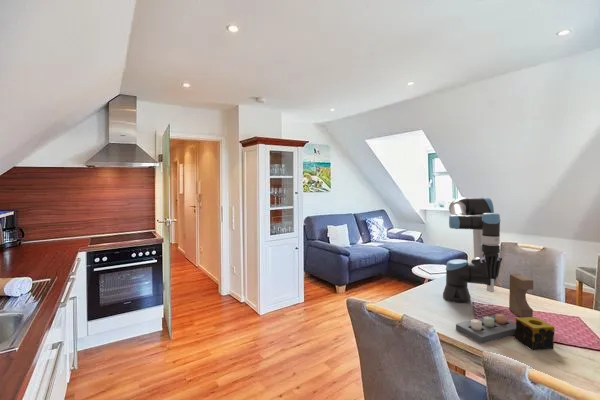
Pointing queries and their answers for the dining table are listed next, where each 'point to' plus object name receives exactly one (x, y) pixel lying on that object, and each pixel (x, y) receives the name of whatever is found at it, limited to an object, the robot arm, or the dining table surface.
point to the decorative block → (520, 295)
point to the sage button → (488, 322)
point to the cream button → (476, 325)
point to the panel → (487, 330)
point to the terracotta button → (501, 319)
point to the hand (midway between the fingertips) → (490, 291)
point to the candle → (534, 333)
